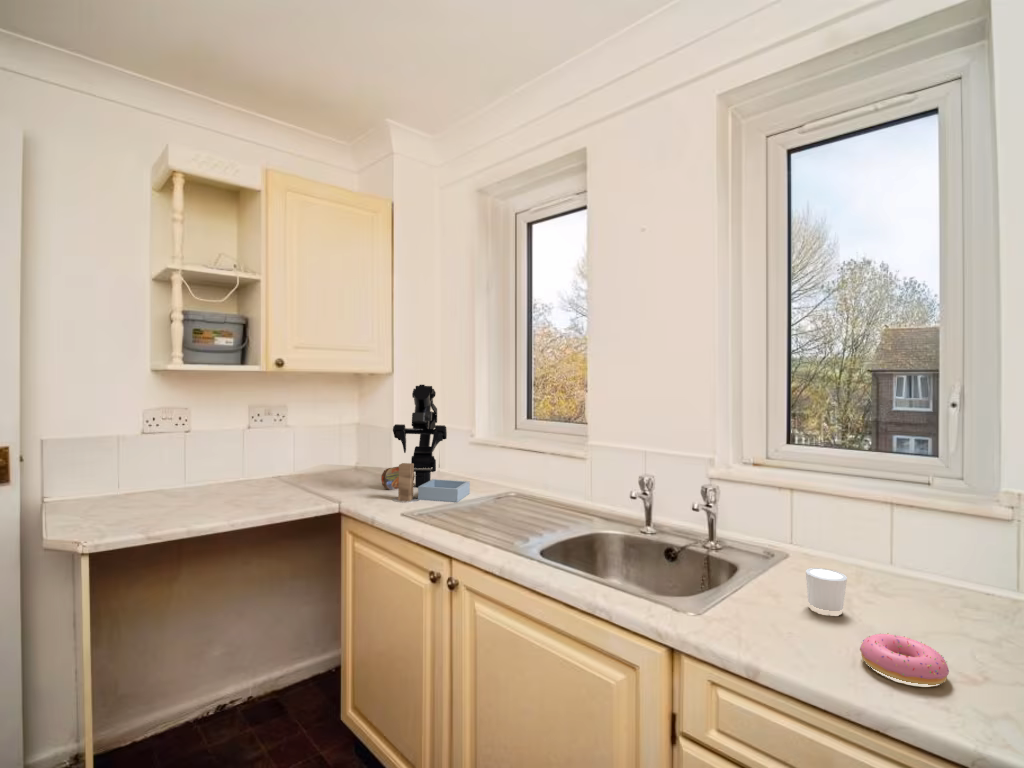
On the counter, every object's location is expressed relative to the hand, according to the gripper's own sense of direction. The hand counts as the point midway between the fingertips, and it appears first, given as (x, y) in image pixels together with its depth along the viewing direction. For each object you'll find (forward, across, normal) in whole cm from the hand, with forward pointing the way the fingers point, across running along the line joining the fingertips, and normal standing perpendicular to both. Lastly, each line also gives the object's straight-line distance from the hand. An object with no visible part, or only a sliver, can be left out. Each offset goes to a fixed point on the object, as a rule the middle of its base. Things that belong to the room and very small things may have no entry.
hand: (417, 452), depth 192 cm
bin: (+13, +10, +9) cm, 18 cm away
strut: (+16, -3, +4) cm, 17 cm away
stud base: (+16, -3, +5) cm, 17 cm away
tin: (+4, -9, +21) cm, 23 cm away
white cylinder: (+67, +89, -64) cm, 129 cm away
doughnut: (+80, +88, -82) cm, 144 cm away
